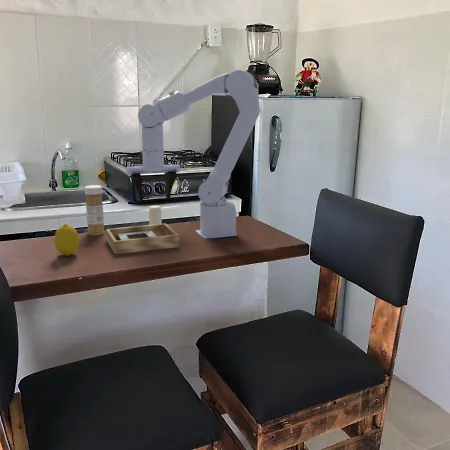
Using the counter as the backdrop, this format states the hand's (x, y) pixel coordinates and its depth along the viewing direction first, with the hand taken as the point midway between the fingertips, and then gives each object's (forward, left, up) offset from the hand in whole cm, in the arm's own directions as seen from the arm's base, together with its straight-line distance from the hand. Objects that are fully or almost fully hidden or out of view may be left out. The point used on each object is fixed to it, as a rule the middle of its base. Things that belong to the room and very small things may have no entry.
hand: (154, 199), depth 140 cm
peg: (0, 0, -9) cm, 9 cm away
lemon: (+25, +14, -9) cm, 30 cm away
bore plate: (+7, +12, -9) cm, 16 cm away
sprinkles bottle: (+16, -3, -9) cm, 19 cm away
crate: (+6, +12, -9) cm, 16 cm away
